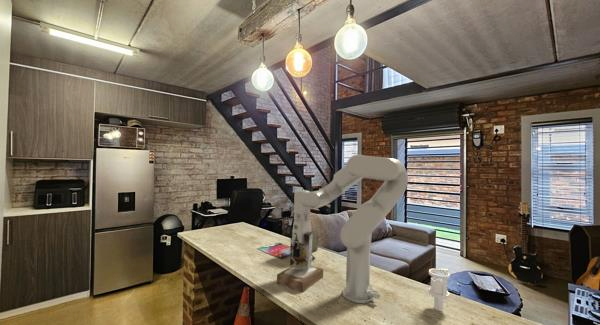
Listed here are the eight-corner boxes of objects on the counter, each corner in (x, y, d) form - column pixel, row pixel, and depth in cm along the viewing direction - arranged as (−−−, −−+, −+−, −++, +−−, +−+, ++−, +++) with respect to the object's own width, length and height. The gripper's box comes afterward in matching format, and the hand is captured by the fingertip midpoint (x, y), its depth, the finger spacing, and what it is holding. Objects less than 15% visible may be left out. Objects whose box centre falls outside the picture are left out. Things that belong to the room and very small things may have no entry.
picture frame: (323, 277, 124) (323, 267, 124) (302, 292, 109) (302, 281, 109) (298, 270, 131) (299, 261, 131) (276, 283, 116) (277, 273, 116)
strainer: (453, 313, 95) (454, 273, 95) (435, 314, 94) (436, 273, 95) (441, 303, 102) (442, 265, 102) (424, 303, 101) (425, 265, 102)
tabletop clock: (318, 259, 147) (318, 215, 147) (308, 264, 140) (309, 218, 140) (298, 253, 156) (299, 212, 156) (288, 257, 149) (289, 214, 149)
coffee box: (289, 267, 118) (290, 232, 118) (293, 262, 124) (294, 229, 125) (308, 270, 116) (309, 234, 116) (312, 265, 122) (312, 231, 122)
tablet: (279, 243, 176) (279, 242, 176) (305, 252, 159) (305, 251, 159) (256, 249, 163) (256, 248, 163) (281, 260, 145) (281, 259, 145)
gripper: (298, 221, 111) (297, 261, 111) (318, 214, 125) (317, 251, 125) (284, 218, 115) (283, 258, 115) (305, 212, 129) (304, 247, 129)
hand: (301, 254), depth 120 cm, fingers closed on coffee box, 7 cm apart
